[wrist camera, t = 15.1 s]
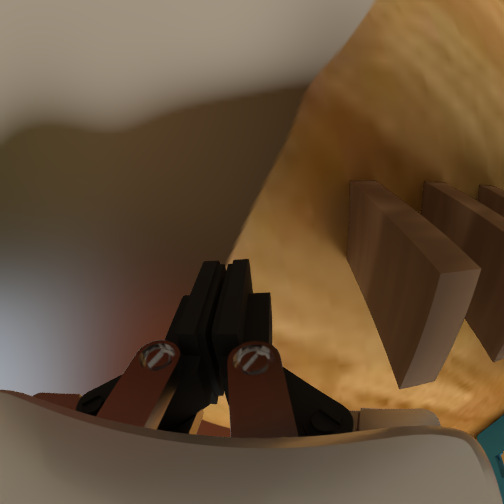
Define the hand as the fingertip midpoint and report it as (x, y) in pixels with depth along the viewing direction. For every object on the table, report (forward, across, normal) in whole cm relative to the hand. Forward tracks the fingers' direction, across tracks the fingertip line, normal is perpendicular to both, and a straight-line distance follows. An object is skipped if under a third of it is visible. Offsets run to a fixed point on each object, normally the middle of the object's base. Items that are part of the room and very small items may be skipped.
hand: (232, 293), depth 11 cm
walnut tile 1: (+7, -7, 0) cm, 10 cm away
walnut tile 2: (+7, -12, 0) cm, 14 cm away
